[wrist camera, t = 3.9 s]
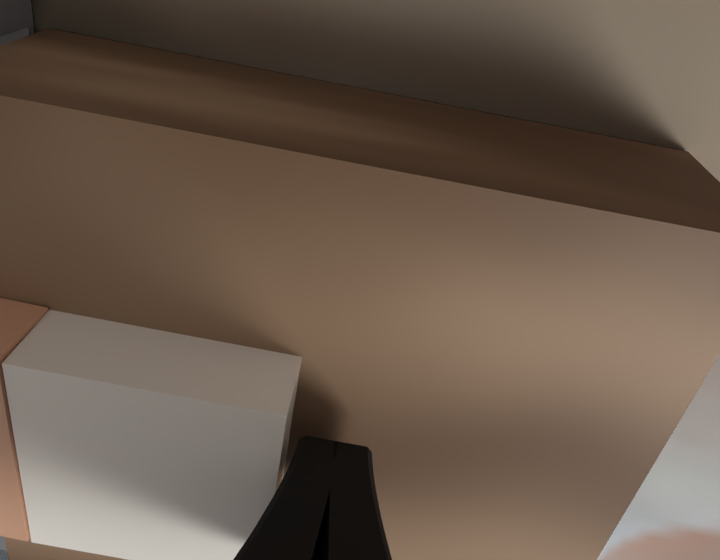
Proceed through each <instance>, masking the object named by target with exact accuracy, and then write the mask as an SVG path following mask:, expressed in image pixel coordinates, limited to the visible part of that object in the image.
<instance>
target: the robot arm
mask: <svg viewBox="0 0 720 560" xmlns="http://www.w3.org/2000/svg"><path fill="white" fill-rule="evenodd" d="M233 560H392V558H391V554H390V550H389V546H388V542H387V539H386V535H385V531H384V527H383V523H382V518H381V514H380V509H379V504H378V498H377V493H376V487H375V481H374V473H373V463H372V452H371V451H370V449H369V448H368V447H366V446H361V445H355V444H350V443H344V442H339V441H334V440H328V439H323V438H317V437H312V436H304V437H302V438H300V439H299V441H298V444H297V447H296V450H295V453H294V455H293V458H292V460H291V462H290V465H289V467H288V469H287V471H286V473H285V475H284V477H283V479H282V481H281V483H280V485H279V487H278V489H277V491H276V492H275V494H274V496H273V498H272V500H271V501H270V503H269V505H268V506H267V508H266V510H265V511H264V513H263V515H262V516H261V518H260V520H259V521H258V523H257V525H256V526H255V528H254V530H253V531H252V533H251V534H250V536H249V537H248V539H247V540H246V542H245V543H244V545H243V546H242V547H241V549H240V550H239V552H238V553H237V555H236V556H235V558H234V559H233Z"/></svg>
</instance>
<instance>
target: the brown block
mask: <svg viewBox="0 0 720 560" xmlns="http://www.w3.org/2000/svg"><path fill="white" fill-rule="evenodd" d="M0 298H4V299H9V300H14V301H19V302H23V303H28V304H33V305H38V306H43V307H48V311H49V310H54V311H60V312H65V313H70V314H76V315H81V316H86V317H92V318H97V319H102V320H108V321H113V322H118V323H124V324H129V325H135V326H140V327H145V328H151V329H156V330H161V331H167V332H172V333H177V334H183V335H188V336H193V337H199V338H204V339H210V340H215V341H220V342H226V343H231V344H236V345H242V346H247V347H252V348H258V349H263V350H269V351H274V352H279V353H285V354H290V355H295V356H301V357H302V359H301V365H300V372H299V378H298V384H297V391H296V397H295V404H294V410H293V416H292V423H291V429H290V436H289V442H288V448H287V455H286V461H285V468H284V474H283V477H284V475H285V473H286V471H287V469H288V467H289V465H290V462H291V460H292V458H293V455H294V453H295V450H296V447H297V444H298V441H299V439H300V438H302V437H304V436H312V437H317V438H323V439H328V440H334V441H339V442H344V443H350V444H355V445H361V446H366V447H368V448H369V449H370V451H371V452H372V463H373V473H374V481H375V487H376V493H377V498H378V504H379V509H380V514H381V518H382V523H383V527H384V531H385V535H386V539H387V542H388V546H389V550H390V554H391V558H392V560H597V558H598V556H599V555H600V553H601V551H602V550H603V548H604V546H605V545H606V543H607V541H608V540H609V538H610V536H611V535H612V533H613V531H614V530H615V528H616V526H617V525H618V523H619V521H620V520H621V518H622V516H623V514H624V513H625V511H626V509H627V508H628V506H629V504H630V503H631V501H632V499H633V498H634V496H635V494H636V493H637V491H638V489H639V488H640V486H641V484H642V483H643V481H644V479H645V478H646V476H647V474H648V473H649V471H650V469H651V468H652V466H653V464H654V463H655V461H656V459H657V458H658V456H659V454H660V453H661V451H662V449H663V448H664V446H665V444H666V443H667V441H668V439H669V438H670V436H671V434H672V433H673V431H674V429H675V428H676V426H677V424H678V423H679V421H680V419H681V418H682V416H683V414H684V413H685V411H686V409H687V408H688V406H689V404H690V403H691V401H692V399H693V398H694V396H695V394H696V393H697V391H698V389H699V388H700V386H701V384H702V383H703V381H704V379H705V378H706V376H707V374H708V373H709V371H710V369H711V368H712V366H713V364H714V363H715V361H716V359H717V358H718V356H719V354H720V182H719V181H718V180H717V179H716V178H715V177H714V176H713V175H711V174H710V173H709V172H708V171H707V170H706V169H705V168H704V167H703V166H702V165H701V164H700V163H699V162H698V161H697V160H696V159H695V158H694V157H693V156H692V155H691V154H690V153H689V152H687V151H682V150H676V149H671V148H666V147H661V146H656V145H651V144H645V143H640V142H635V141H630V140H625V139H620V138H614V137H609V136H604V135H599V134H594V133H589V132H583V131H578V130H573V129H568V128H563V127H558V126H552V125H547V124H542V123H537V122H532V121H526V120H521V119H516V118H511V117H506V116H501V115H495V114H490V113H485V112H480V111H475V110H470V109H464V108H459V107H454V106H449V105H444V104H439V103H433V102H428V101H423V100H418V99H413V98H407V97H402V96H397V95H392V94H387V93H382V92H376V91H371V90H366V89H361V88H356V87H351V86H345V85H340V84H335V83H330V82H325V81H320V80H314V79H309V78H304V77H299V76H294V75H289V74H283V73H278V72H273V71H268V70H263V69H257V68H252V67H247V66H242V65H237V64H232V63H226V62H221V61H216V60H211V59H206V58H201V57H195V56H190V55H185V54H180V53H175V52H170V51H164V50H159V49H154V48H149V47H144V46H139V45H133V44H128V43H123V42H118V41H113V40H107V39H102V38H97V37H92V36H87V35H82V34H76V33H71V32H66V31H61V30H56V29H51V28H48V29H45V30H42V31H39V32H37V33H34V34H31V35H28V36H26V37H23V38H20V39H17V40H15V41H12V42H9V43H6V44H4V45H1V46H0ZM4 539H5V544H6V549H7V554H8V558H9V560H127V559H122V558H116V557H110V556H105V555H99V554H94V553H88V552H83V551H77V550H71V549H66V548H60V547H55V546H49V545H44V544H38V543H32V542H31V537H30V539H29V540H28V542H27V541H23V540H18V539H13V538H8V537H4Z"/></svg>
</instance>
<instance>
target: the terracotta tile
mask: <svg viewBox="0 0 720 560" xmlns="http://www.w3.org/2000/svg"><path fill="white" fill-rule="evenodd" d="M47 312H48V307H43V306H38V305H33V304H28V303H23V302H19V301H14V300H9V299H4V298H0V536H3V537H8V538H13V539H18V540H23V541H27V542H28V540H29V539H30V531H29V525H28V519H27V513H26V507H25V501H24V495H23V489H22V483H21V477H20V471H19V465H18V459H17V453H16V446H15V440H14V434H13V428H12V422H11V416H10V410H9V404H8V398H7V392H6V386H5V380H4V374H3V368H2V363H3V361H4V360H5V359H6V358H7V357H8V356H9V355H10V354H11V352H12V351H13V350H14V349H15V348H16V347H17V346H18V345H19V343H20V342H21V341H22V340H23V339H24V338H25V337H26V336H27V334H28V333H29V332H30V331H31V330H32V329H33V328H34V327H35V326H36V324H37V323H38V322H39V321H40V320H41V319H42V318H43V317H44V315H45V314H46V313H47Z"/></svg>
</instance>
